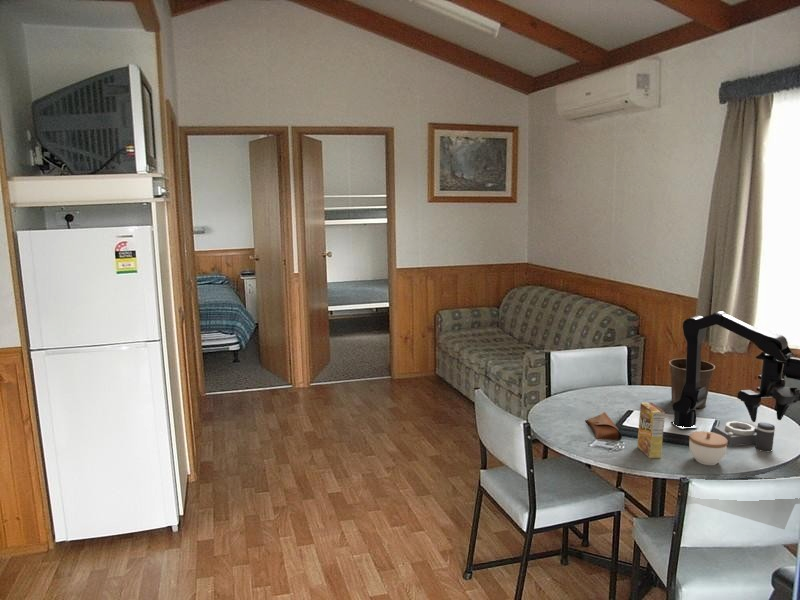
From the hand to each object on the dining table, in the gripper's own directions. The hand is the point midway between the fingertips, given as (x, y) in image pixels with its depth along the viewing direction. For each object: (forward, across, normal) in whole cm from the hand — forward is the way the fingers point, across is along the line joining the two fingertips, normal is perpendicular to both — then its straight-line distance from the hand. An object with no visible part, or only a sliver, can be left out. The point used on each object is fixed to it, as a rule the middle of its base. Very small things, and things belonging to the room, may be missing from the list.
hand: (766, 420), depth 206 cm
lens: (+10, 0, 0) cm, 10 cm away
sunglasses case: (+10, -44, +24) cm, 51 cm away
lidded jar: (+10, -24, -5) cm, 26 cm away
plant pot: (+10, +1, +42) cm, 43 cm away
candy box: (+10, -38, +4) cm, 39 cm away
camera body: (+10, -2, +8) cm, 13 cm away
